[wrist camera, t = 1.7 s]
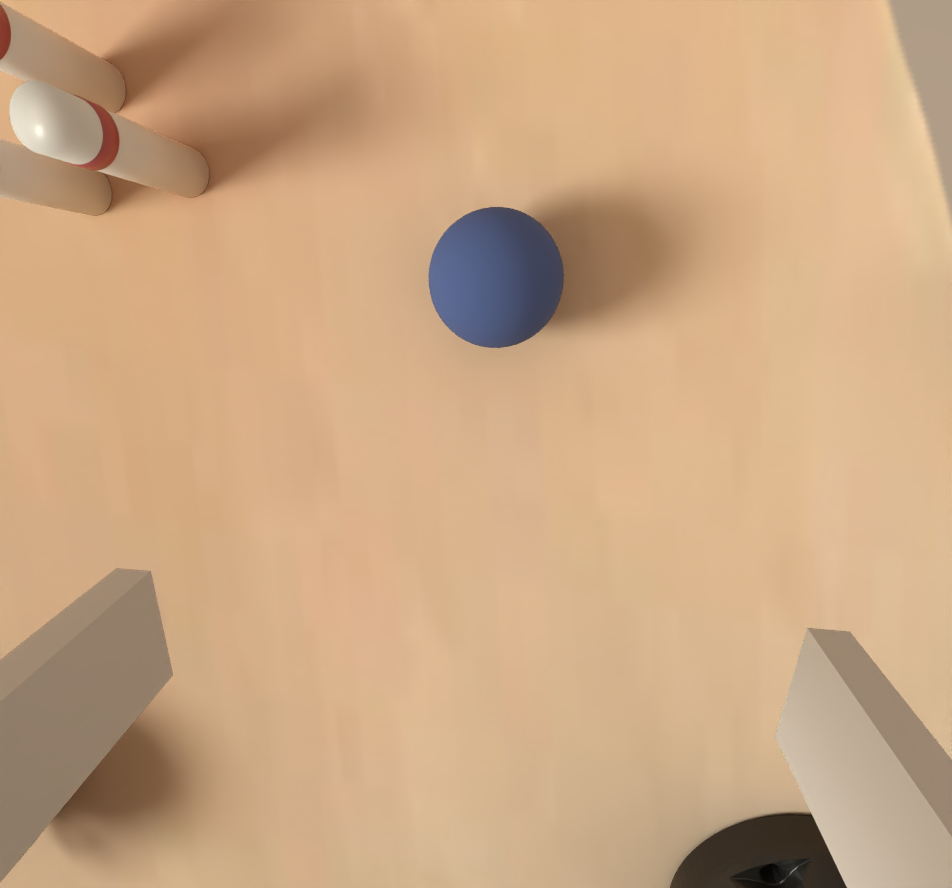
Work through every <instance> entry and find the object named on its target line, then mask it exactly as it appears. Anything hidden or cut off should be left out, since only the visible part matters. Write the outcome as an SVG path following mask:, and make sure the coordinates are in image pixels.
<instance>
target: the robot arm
mask: <svg viewBox="0 0 952 888" xmlns="http://www.w3.org/2000/svg"><path fill="white" fill-rule="evenodd" d="M172 675H173V672H172V667H171V663H170V658H169V653H168V649H167V644H166V639H165V635H164V630H163V625H162V621H161V616H160V611H159V607H158V602H157V597H156V593H155V588H154V583H153V579H152V574H151V571H143V570H132V569H120V568H116V569H115V570H114V571H112V572H111V573H110V574H109V575H107V576H106V577H105V578H104V579H102V580H101V581H100V582H98V583H97V584H96V585H95V586H93V587H92V588H91V589H90V590H88V591H87V592H86V593H84V594H83V595H82V596H81V597H79V598H78V599H77V600H76V601H74V602H73V603H72V604H71V605H69V606H68V607H67V608H65V609H64V610H63V611H62V612H60V613H59V614H58V615H57V616H55V617H54V618H53V619H51V620H50V621H49V622H48V623H46V624H45V625H44V626H43V627H41V628H40V629H39V630H38V631H36V632H35V633H34V634H32V635H31V636H30V637H29V638H27V639H26V640H25V641H24V642H22V643H21V644H20V645H18V646H17V647H16V648H15V649H13V650H12V651H11V652H10V653H8V654H7V655H6V656H5V657H3V658H2V659H1V660H0V882H1V881H2V880H3V879H4V878H5V876H6V875H7V874H8V873H9V872H10V870H11V869H12V868H13V867H14V865H15V864H16V863H17V862H18V861H19V859H20V858H21V857H22V856H23V855H24V853H25V852H26V851H27V850H28V849H29V847H30V846H31V845H32V844H33V843H34V841H35V840H36V839H37V838H38V837H39V835H40V834H41V833H42V832H43V831H44V829H45V828H46V827H47V826H48V825H49V823H50V822H51V821H52V820H53V819H54V817H55V816H56V815H57V814H58V813H59V811H60V810H61V809H62V808H63V807H64V805H65V804H66V803H67V802H68V801H69V799H70V798H71V797H72V796H73V795H74V793H75V792H76V791H77V790H78V788H79V787H80V786H81V785H82V784H83V782H84V781H85V780H86V779H87V778H88V776H89V775H90V774H91V773H92V772H93V770H94V769H95V768H96V767H97V766H98V764H99V763H100V762H101V761H102V760H103V758H104V757H105V756H106V755H107V754H108V752H109V751H110V750H111V749H112V748H113V746H114V745H115V744H116V743H117V742H118V740H119V739H120V738H121V737H122V736H123V734H124V733H125V732H126V731H127V730H128V728H129V727H130V726H131V725H132V724H133V722H134V721H135V720H136V719H137V718H138V716H139V715H140V714H141V713H142V711H143V710H144V709H145V708H146V707H147V705H148V704H149V703H150V702H151V701H152V699H153V698H154V697H155V696H156V695H157V693H158V692H159V691H160V690H161V689H162V687H163V686H164V685H165V684H166V683H167V681H168V680H169V679H170V678H171V677H172ZM775 738H776V740H777V742H778V744H779V746H780V748H781V751H782V753H783V755H784V757H785V759H786V761H787V763H788V765H789V767H790V769H791V772H792V774H793V776H794V778H795V780H796V782H797V784H798V786H799V788H800V790H801V792H802V795H803V797H804V799H805V801H806V803H807V805H808V807H809V809H810V811H811V813H812V816H802V815H783V816H771V817H764V818H759V819H754V820H750V821H746V822H743V823H740V824H737V825H734V826H732V827H729V828H727V829H725V830H722V831H720V832H718V833H717V834H715V835H713V836H711V837H710V838H708V839H707V840H705V841H704V842H703V843H701V844H700V845H699V846H697V847H696V848H695V849H694V850H693V851H692V852H691V853H690V854H689V855H688V856H687V857H686V859H685V860H684V861H683V862H682V864H681V865H680V867H679V868H678V870H677V872H676V874H675V876H674V878H673V880H672V883H671V886H670V888H952V760H951V758H950V757H949V756H948V755H947V753H946V752H945V751H944V749H943V748H942V747H941V746H940V744H939V743H938V742H937V741H936V739H935V738H934V737H933V736H932V734H931V733H930V732H929V731H928V729H927V728H926V727H925V726H924V724H923V723H922V722H921V721H920V719H919V718H918V717H917V716H916V714H915V713H914V712H913V710H912V709H911V708H910V707H909V705H908V704H907V703H906V702H905V700H904V699H903V698H902V697H901V695H900V694H899V693H898V692H897V690H896V689H895V688H894V687H893V685H892V684H891V683H890V682H889V680H888V679H887V678H886V676H885V675H884V674H883V673H882V671H881V670H880V669H879V668H878V666H877V665H876V664H875V663H874V661H873V660H872V659H871V658H870V656H869V655H868V654H867V653H866V651H865V650H864V649H863V648H862V646H861V645H860V644H859V643H858V641H857V640H856V639H855V637H854V636H853V635H852V634H851V632H847V631H836V630H824V629H813V628H807V630H806V634H805V637H804V640H803V644H802V647H801V651H800V654H799V657H798V661H797V664H796V668H795V671H794V674H793V678H792V681H791V685H790V688H789V691H788V695H787V698H786V702H785V705H784V708H783V712H782V715H781V718H780V722H779V725H778V729H777V732H776V735H775Z"/></svg>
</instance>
